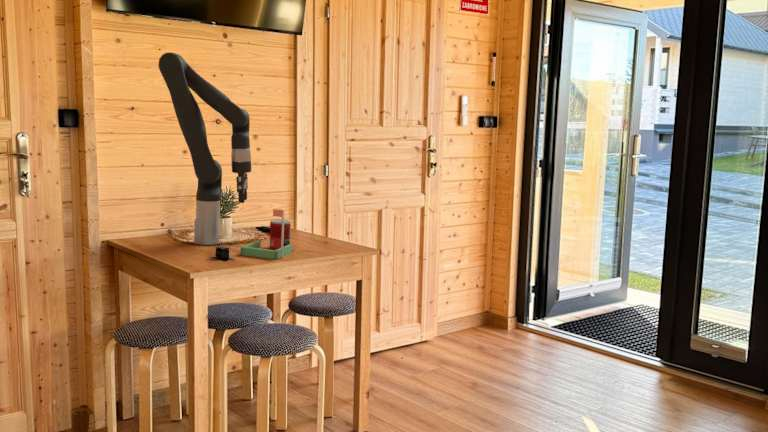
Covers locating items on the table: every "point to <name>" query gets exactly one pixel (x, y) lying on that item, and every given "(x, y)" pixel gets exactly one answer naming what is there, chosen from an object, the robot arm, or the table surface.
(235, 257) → the table surface
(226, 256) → the black block
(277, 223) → the canned food
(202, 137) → the robot arm
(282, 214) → the green u-shaped frame
